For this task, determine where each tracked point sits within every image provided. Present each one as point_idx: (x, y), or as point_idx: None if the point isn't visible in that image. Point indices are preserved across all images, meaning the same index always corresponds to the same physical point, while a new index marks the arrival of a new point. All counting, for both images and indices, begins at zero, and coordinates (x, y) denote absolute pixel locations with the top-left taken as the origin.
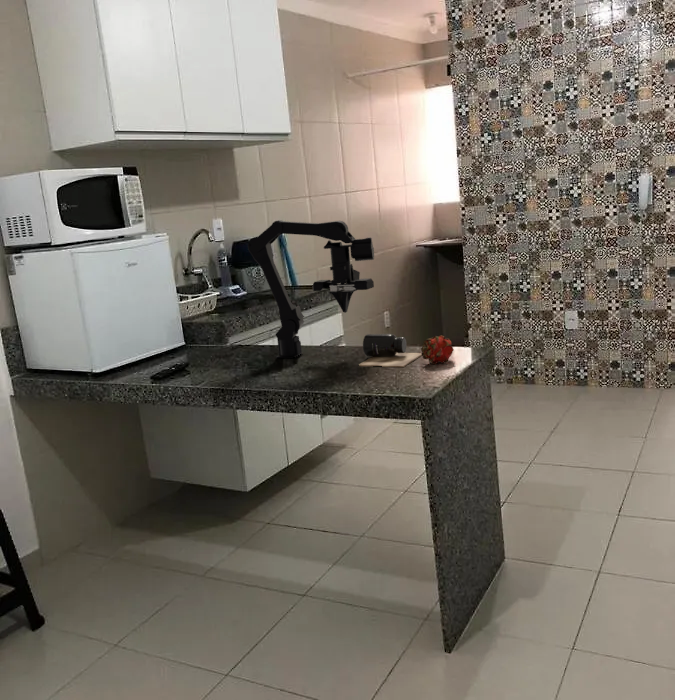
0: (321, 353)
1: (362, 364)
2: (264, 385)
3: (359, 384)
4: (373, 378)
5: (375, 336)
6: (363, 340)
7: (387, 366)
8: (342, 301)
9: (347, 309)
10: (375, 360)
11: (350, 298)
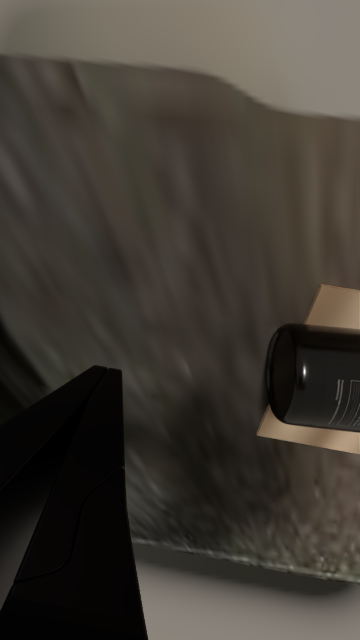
0: (45, 253)
1: (269, 434)
2: None
3: (284, 537)
4: (311, 514)
5: (344, 429)
6: (278, 419)
7: (348, 449)
8: (36, 517)
9: (122, 389)
10: None
11: (129, 527)
